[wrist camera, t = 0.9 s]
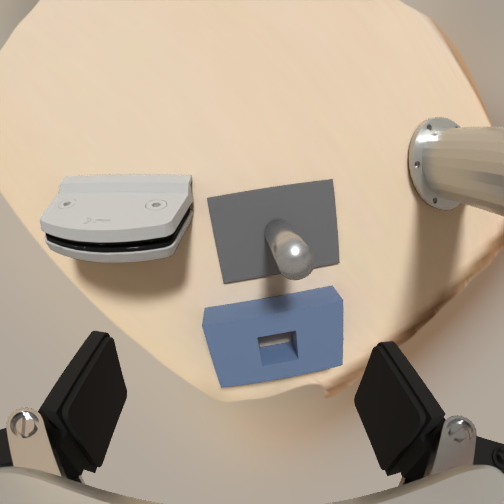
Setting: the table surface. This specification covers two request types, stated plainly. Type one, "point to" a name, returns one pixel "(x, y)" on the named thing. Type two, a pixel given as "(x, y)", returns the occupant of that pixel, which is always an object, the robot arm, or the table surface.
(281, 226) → the peg
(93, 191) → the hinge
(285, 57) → the table surface
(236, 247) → the mat
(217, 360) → the hole block
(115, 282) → the table surface
